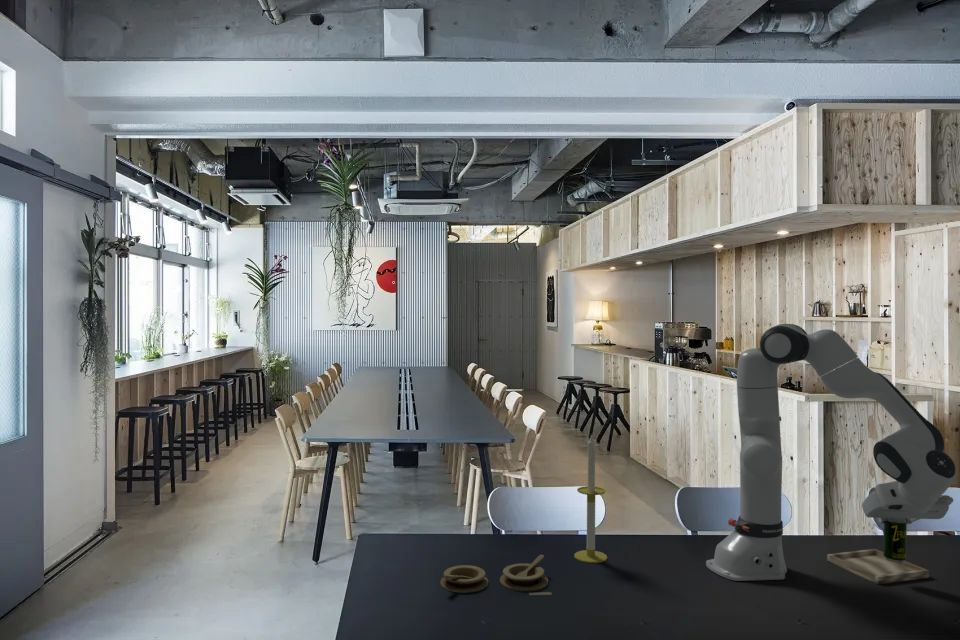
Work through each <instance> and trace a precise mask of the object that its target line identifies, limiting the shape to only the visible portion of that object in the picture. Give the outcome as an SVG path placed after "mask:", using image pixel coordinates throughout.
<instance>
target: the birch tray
mask: <svg viewBox="0 0 960 640" xmlns="http://www.w3.org/2000/svg"><path fill="white" fill-rule="evenodd" d="M826 561H827V562H828V561H829V563H830V562H831V563H830V564H832V563H833V565H835V566H837V567H839V568H841V569H844V570H846V571H848V572H849V573H852V574H854V575H856V576H859V577H861V578H862V579H865V580H866V581H867V580H868V581H869V582H872V583H874V584H876V585H884V584H891V583H893V584H894V583H899V582H907V581H914V580H920V579H921V580H922V579H928V578H930V570H928V569H926V568H924V567H922V566H919V565H916V564H914V563H911V562H909V561H906V560H905V562H903V563H896V562H891V561H888V560H886V559H885V558H884V555H883V550H880V549H876V548H871V549H861V550H860V549H859V550H853V551H844V552H836V553H828V554H826Z"/></svg>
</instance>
